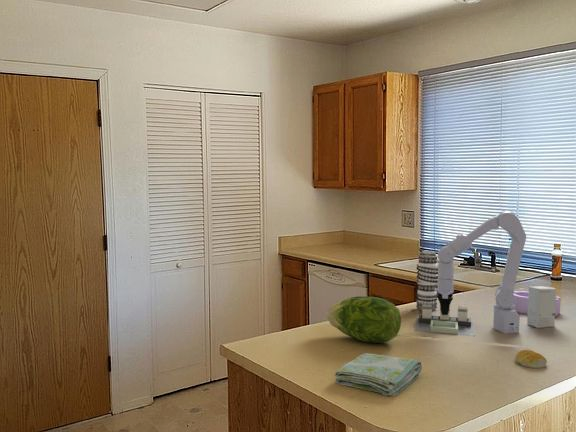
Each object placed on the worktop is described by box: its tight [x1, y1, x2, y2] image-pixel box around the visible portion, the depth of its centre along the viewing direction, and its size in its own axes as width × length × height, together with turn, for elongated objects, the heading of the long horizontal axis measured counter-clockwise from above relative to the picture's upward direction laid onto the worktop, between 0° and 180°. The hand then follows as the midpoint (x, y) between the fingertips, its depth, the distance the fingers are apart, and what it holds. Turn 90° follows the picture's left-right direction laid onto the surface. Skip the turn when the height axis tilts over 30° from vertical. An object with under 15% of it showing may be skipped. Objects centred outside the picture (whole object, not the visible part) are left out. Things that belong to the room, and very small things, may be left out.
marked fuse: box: [439, 306, 451, 320], centre depth 211 cm, size 4×4×6 cm
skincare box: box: [526, 285, 557, 329], centre depth 210 cm, size 8×6×15 cm
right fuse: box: [457, 306, 468, 321], centre depth 209 cm, size 3×3×6 cm
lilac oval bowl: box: [513, 290, 561, 317], centre depth 233 cm, size 20×12×7 cm, turn 55°
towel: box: [333, 352, 423, 397], centre depth 155 cm, size 18×21×5 cm
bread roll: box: [514, 349, 548, 369], centre depth 169 cm, size 8×9×4 cm
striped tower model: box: [415, 250, 438, 312], centre depth 232 cm, size 9×9×25 cm
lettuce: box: [326, 295, 402, 344], centre depth 191 cm, size 15×27×16 cm, turn 60°
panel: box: [413, 314, 476, 337], centre depth 206 cm, size 19×21×3 cm
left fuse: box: [421, 304, 433, 319], centre depth 212 cm, size 3×3×6 cm
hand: (444, 313), depth 211 cm, fingers closed on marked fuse, 3 cm apart
